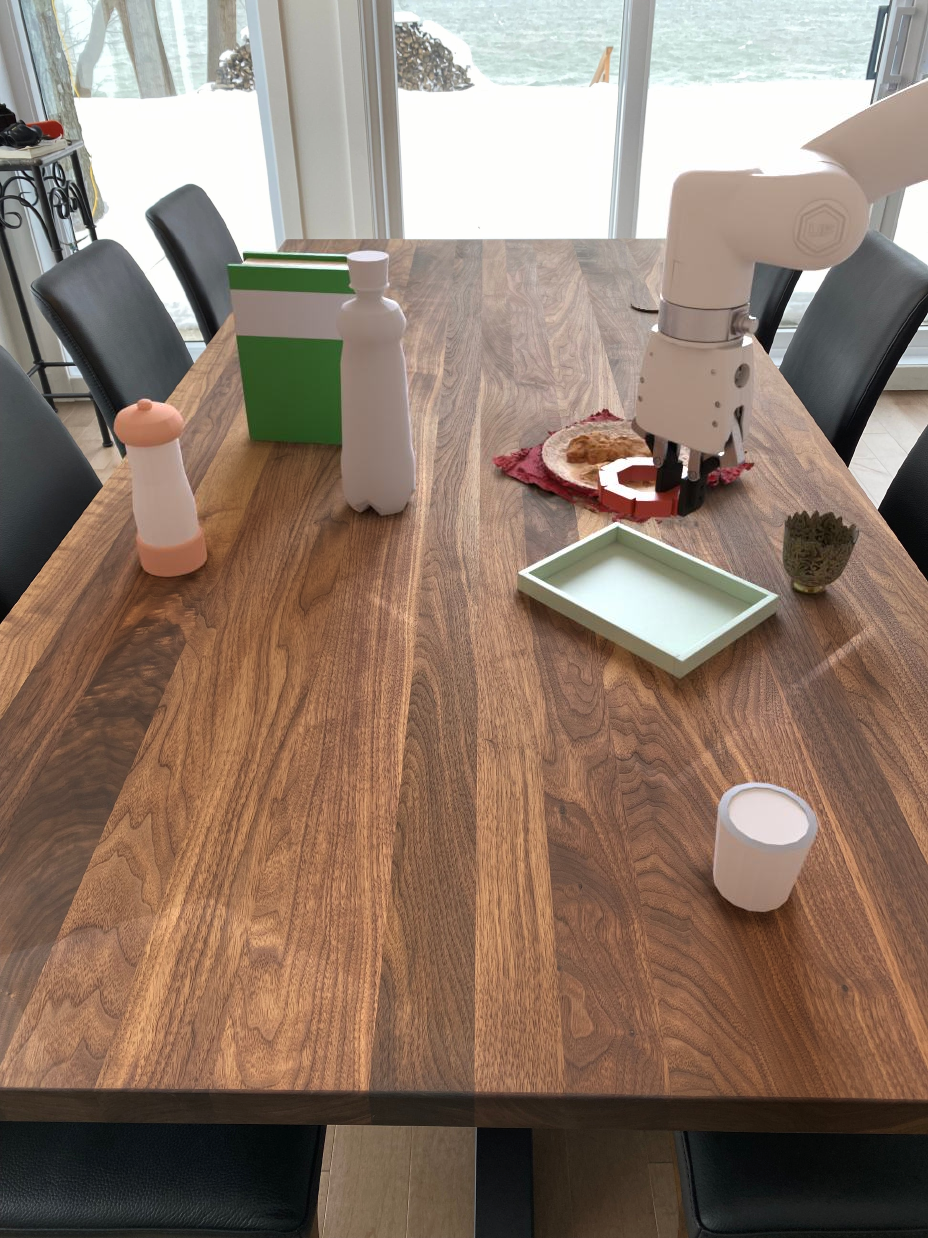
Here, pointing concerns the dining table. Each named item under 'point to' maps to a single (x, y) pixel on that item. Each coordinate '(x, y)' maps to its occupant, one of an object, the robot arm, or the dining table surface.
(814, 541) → the cup
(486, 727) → the dining table surface
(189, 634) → the dining table surface
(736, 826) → the white cylinder
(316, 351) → the hardback book
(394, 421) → the bottle
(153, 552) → the pepper shaker
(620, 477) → the ring
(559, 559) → the tray
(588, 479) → the plate with food
